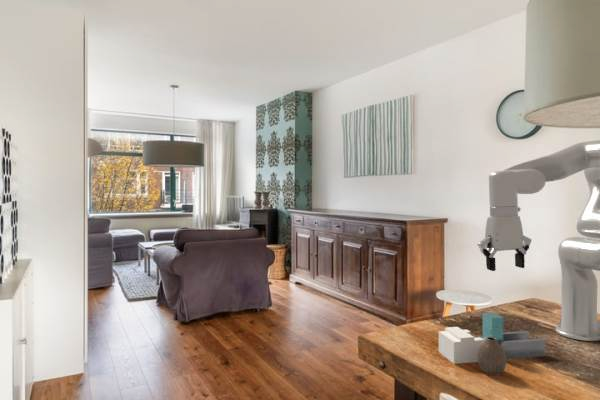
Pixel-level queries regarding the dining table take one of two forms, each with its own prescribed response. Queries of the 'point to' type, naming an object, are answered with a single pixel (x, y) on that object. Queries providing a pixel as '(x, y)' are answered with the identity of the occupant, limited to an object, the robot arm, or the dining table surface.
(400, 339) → the dining table surface
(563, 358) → the dining table surface
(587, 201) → the robot arm
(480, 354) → the vase
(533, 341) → the guide channel
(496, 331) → the teal-tipped grey beam
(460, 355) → the socket block
